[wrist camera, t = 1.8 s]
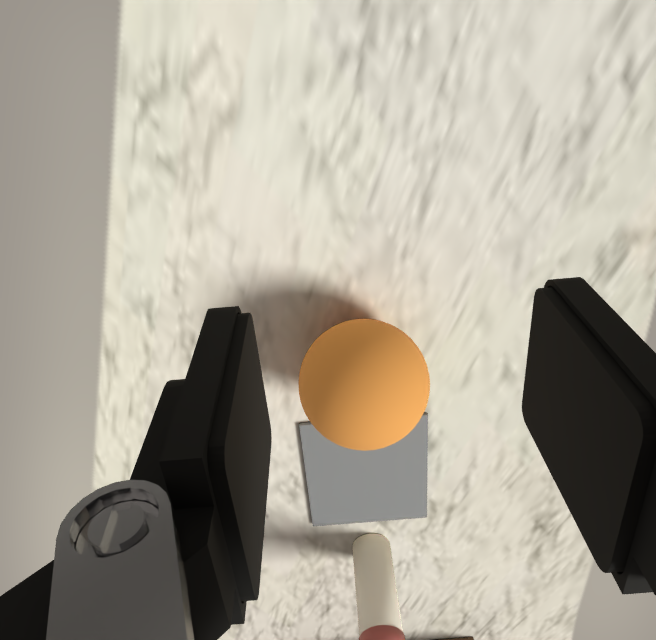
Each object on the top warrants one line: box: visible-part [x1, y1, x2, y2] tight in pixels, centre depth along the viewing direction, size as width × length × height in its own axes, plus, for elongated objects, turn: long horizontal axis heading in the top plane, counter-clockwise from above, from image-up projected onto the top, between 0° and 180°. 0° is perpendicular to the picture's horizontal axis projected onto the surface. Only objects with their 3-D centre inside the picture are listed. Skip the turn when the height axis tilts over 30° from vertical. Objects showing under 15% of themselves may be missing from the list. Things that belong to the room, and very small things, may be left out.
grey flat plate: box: [299, 413, 428, 526], centre depth 33 cm, size 8×7×1 cm
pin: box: [352, 533, 405, 640], centre depth 32 cm, size 2×2×8 cm
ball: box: [299, 319, 430, 451], centre depth 26 cm, size 6×6×6 cm
